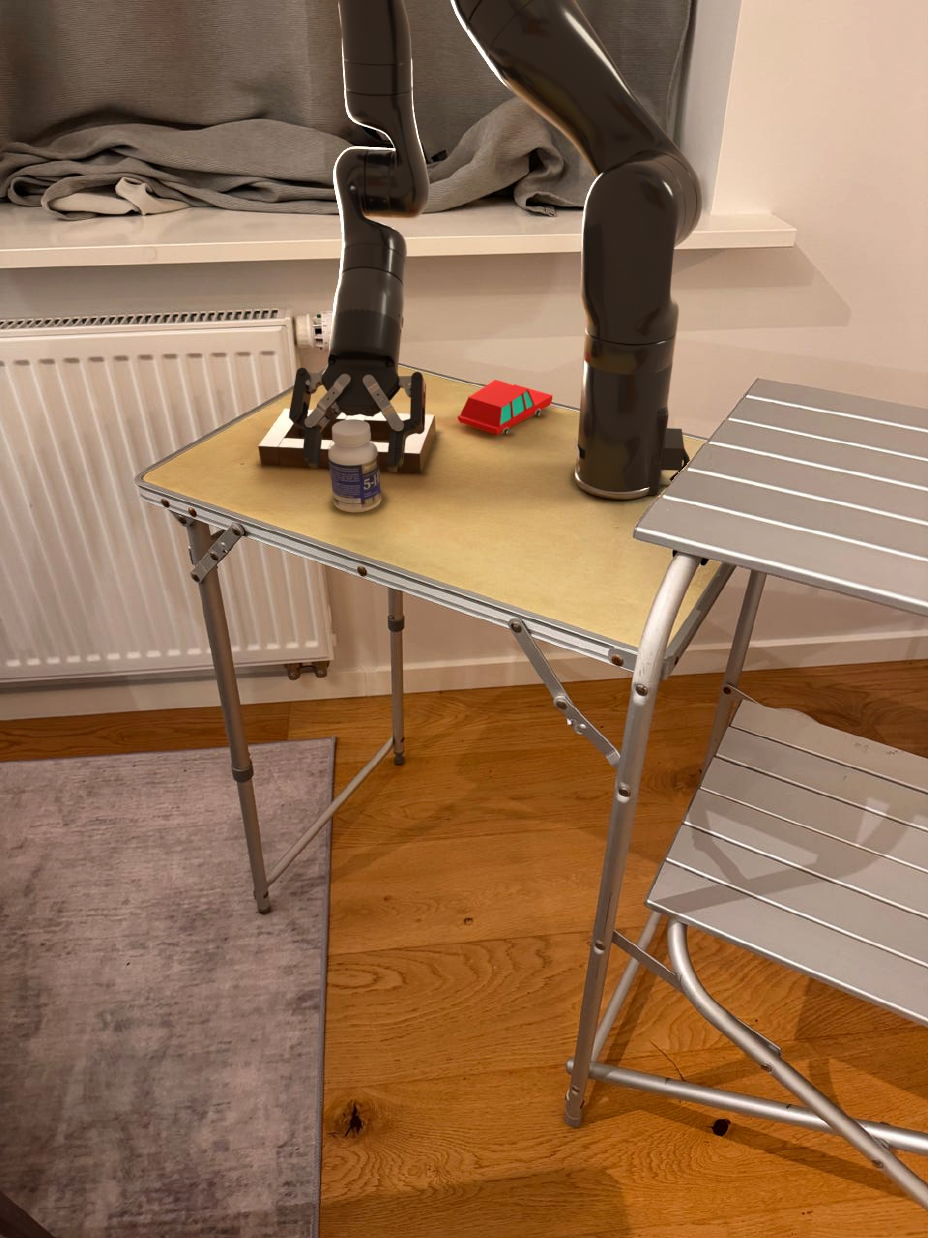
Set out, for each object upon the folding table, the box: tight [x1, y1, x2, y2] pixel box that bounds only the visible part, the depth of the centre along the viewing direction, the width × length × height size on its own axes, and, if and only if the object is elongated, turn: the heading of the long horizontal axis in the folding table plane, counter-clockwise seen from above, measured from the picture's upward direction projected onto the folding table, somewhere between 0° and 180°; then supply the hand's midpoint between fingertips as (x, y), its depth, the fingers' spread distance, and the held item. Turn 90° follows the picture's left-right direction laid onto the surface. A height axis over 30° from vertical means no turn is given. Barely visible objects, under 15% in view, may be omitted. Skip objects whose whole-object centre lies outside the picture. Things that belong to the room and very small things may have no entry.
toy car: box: [457, 379, 553, 436], centre depth 115 cm, size 6×12×4 cm, turn 141°
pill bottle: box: [328, 419, 382, 513], centre depth 97 cm, size 5×5×9 cm
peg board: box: [257, 408, 437, 474], centre depth 109 cm, size 19×11×2 cm, turn 82°
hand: (352, 467), depth 95 cm, fingers open, 8 cm apart
